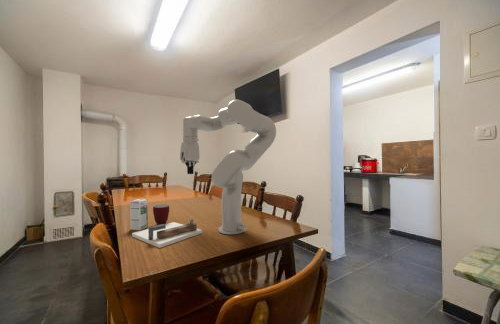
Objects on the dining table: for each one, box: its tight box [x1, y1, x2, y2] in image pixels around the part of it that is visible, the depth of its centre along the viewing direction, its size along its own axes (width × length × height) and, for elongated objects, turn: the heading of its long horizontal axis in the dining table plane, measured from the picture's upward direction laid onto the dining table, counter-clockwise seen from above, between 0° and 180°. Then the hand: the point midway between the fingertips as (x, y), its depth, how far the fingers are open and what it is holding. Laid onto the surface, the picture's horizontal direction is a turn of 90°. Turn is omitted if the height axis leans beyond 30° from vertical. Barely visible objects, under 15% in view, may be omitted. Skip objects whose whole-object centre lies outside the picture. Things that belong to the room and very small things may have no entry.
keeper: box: [147, 224, 166, 240], centre depth 94 cm, size 7×2×5 cm, turn 132°
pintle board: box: [131, 221, 203, 249], centre depth 102 cm, size 22×22×2 cm
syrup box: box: [129, 198, 149, 231], centre depth 112 cm, size 6×6×14 cm
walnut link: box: [157, 218, 198, 239], centre depth 100 cm, size 18×5×5 cm, turn 137°
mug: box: [152, 203, 170, 225], centre depth 119 cm, size 11×8×10 cm
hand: (190, 173), depth 120 cm, fingers closed
